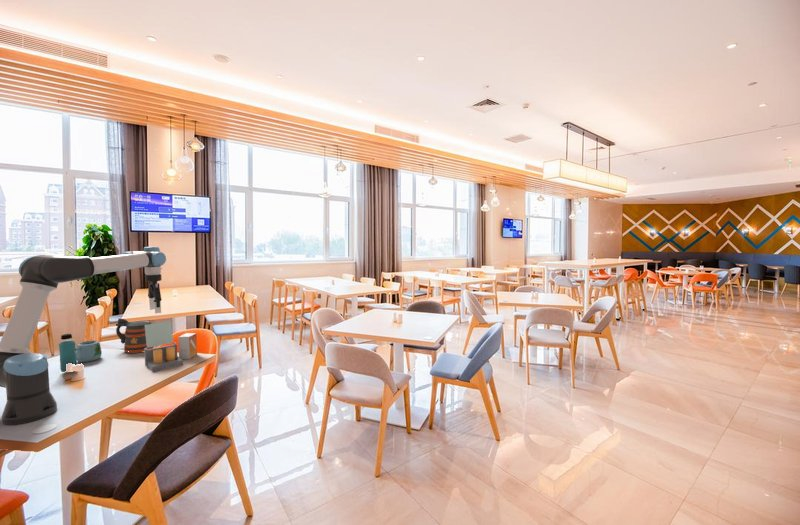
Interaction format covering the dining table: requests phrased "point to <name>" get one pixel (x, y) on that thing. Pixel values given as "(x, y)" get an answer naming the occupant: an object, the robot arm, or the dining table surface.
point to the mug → (88, 351)
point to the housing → (160, 358)
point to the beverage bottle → (67, 352)
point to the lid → (158, 334)
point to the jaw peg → (170, 353)
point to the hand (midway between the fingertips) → (155, 311)
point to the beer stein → (133, 335)
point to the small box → (187, 345)
